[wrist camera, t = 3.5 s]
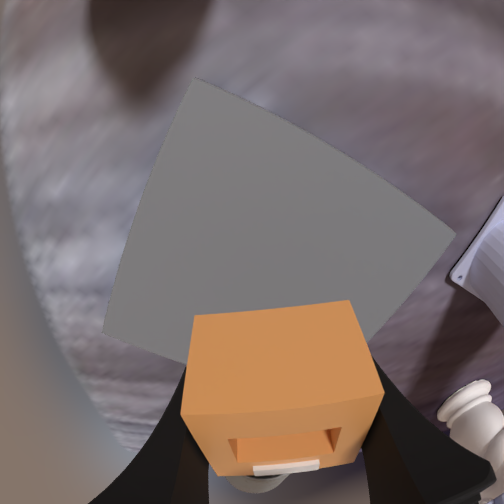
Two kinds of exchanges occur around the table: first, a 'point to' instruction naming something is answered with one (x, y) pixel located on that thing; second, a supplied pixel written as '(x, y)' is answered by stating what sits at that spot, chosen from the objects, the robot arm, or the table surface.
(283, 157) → the board
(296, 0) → the table surface
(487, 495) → the cherub figurine
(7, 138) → the table surface
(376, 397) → the orange cubby crate
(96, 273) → the table surface
